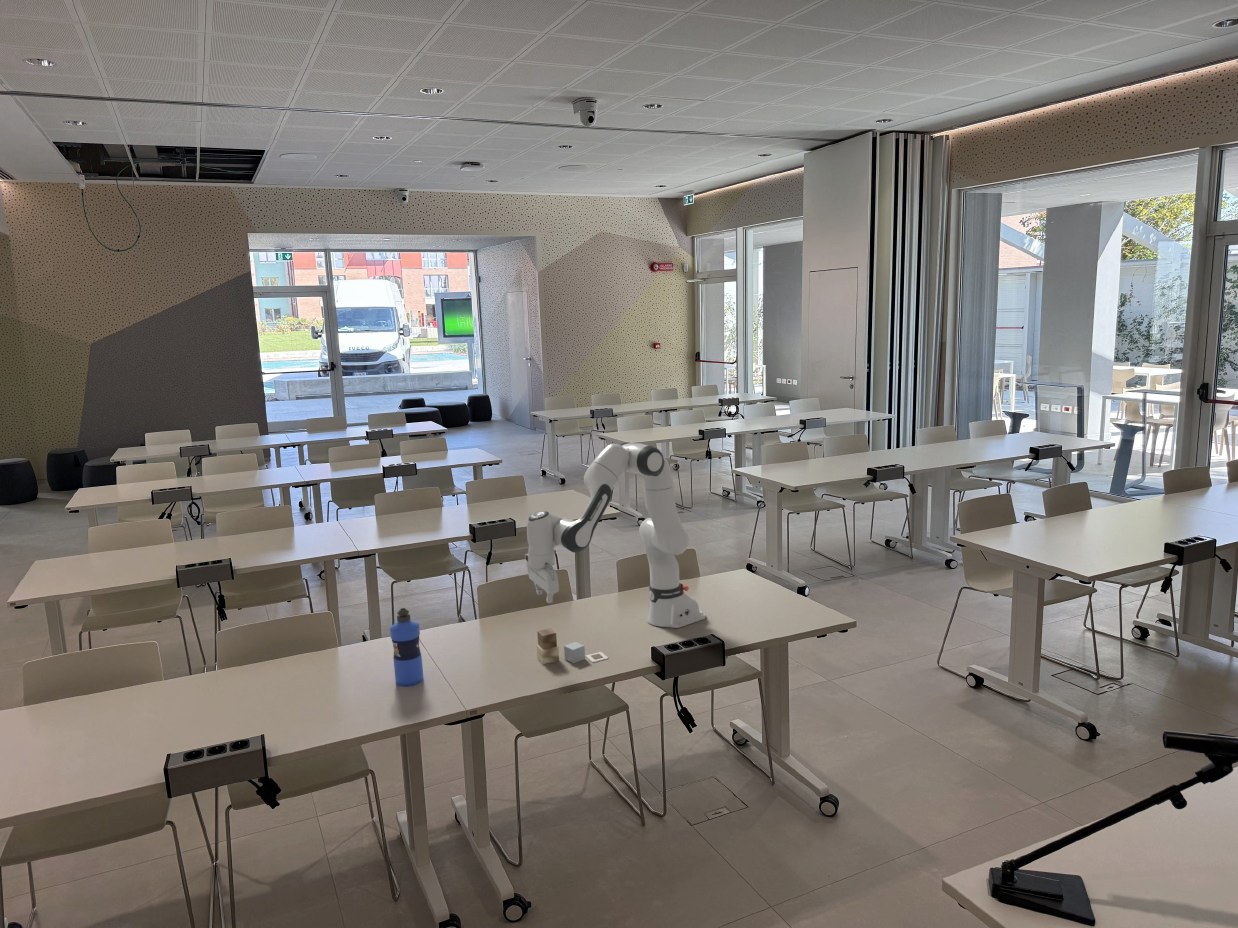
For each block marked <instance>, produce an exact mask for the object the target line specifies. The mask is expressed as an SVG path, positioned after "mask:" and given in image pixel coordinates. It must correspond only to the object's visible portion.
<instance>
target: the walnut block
mask: <svg viewBox="0 0 1238 928" xmlns="http://www.w3.org/2000/svg"><path fill="white" fill-rule="evenodd" d="M536 634H537V644H538V645H539V646H540V647H541V648H542V649H543V650H544V649H548V648H553V647H557V646H558V639H557V632H556V631H555V630H553V629H552V627H550V628H545V629H544V628H543V629H540V630H537V632H536Z"/></svg>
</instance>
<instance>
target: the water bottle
mask: <svg viewBox="0 0 1238 928" xmlns="http://www.w3.org/2000/svg"><path fill="white" fill-rule="evenodd" d="M396 614H397V615H396V620H397V621H396V623H394V624H392V625H391V626H390V628H389V632H390V634H389V635H390V639H391V642H392V648H393V658H392V659H393V670H394V677H395V678H394V680H395V684H396V685H398V686H400V687H412V686H416V685H418V684H420V683H422V682H423V681H424V670H423V669H424V668H423V659H422V651H421V648H420V635H421V631H420V623H419V622H417V621H414V620H411V614H410V610H408V609H407V608H405V607H402V608H399V610H398V611H397V613H396Z"/></svg>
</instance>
